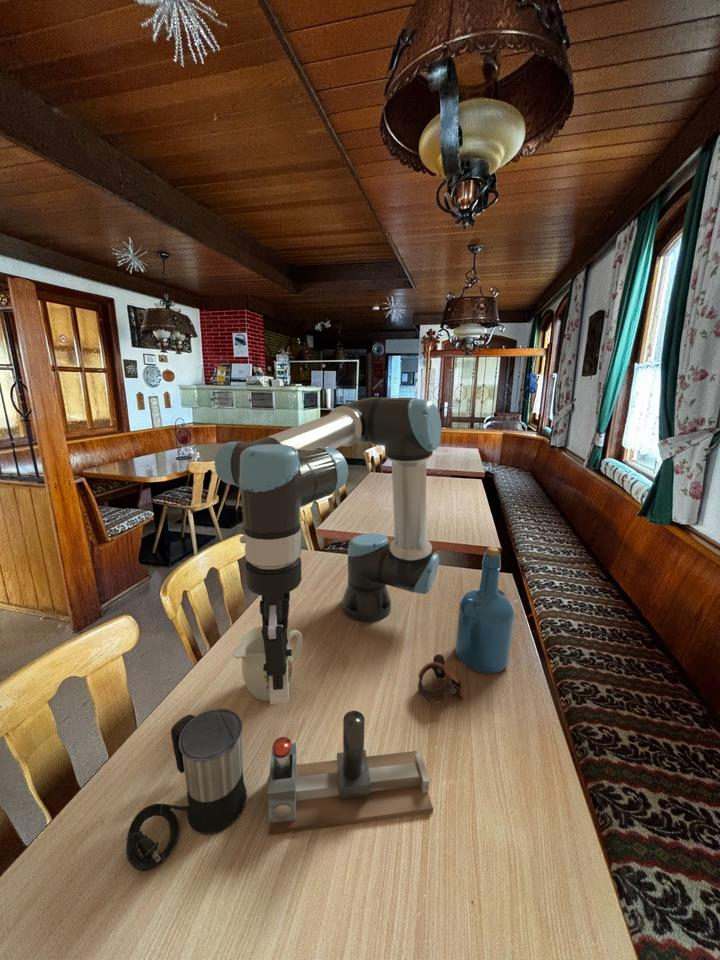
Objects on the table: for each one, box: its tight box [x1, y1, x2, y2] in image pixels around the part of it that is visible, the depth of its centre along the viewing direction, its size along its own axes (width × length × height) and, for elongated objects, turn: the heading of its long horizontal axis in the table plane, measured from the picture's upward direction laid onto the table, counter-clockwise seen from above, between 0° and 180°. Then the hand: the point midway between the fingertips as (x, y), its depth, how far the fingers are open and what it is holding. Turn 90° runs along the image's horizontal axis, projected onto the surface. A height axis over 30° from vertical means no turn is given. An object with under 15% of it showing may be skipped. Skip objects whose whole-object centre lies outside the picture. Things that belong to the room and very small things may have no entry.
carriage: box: [336, 710, 371, 801], centre depth 63 cm, size 6×5×14 cm
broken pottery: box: [417, 653, 464, 704], centre depth 87 cm, size 12×10×8 cm
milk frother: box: [125, 708, 248, 872], centre depth 59 cm, size 14×16×15 cm
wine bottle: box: [455, 546, 516, 675], centre depth 94 cm, size 14×13×30 cm
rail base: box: [267, 742, 434, 836], centre depth 65 cm, size 10×26×7 cm, turn 98°
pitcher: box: [232, 625, 303, 702], centre depth 86 cm, size 11×18×14 cm, turn 141°
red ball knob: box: [272, 736, 292, 776], centre depth 62 cm, size 3×3×5 cm
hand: (279, 698), depth 59 cm, fingers closed
